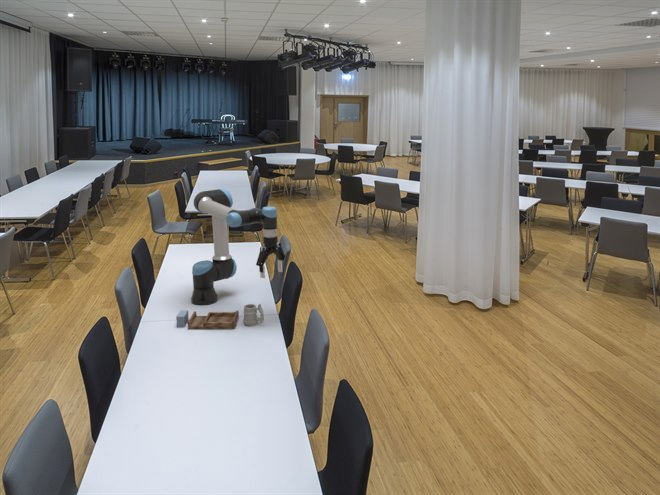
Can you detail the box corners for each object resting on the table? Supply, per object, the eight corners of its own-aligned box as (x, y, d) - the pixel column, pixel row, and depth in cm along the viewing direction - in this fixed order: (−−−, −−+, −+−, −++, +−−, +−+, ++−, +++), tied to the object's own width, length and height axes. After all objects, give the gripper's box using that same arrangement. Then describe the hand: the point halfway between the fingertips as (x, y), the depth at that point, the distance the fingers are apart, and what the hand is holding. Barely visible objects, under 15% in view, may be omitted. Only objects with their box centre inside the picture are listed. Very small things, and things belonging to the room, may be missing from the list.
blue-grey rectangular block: (184, 327, 287) (183, 316, 285) (177, 327, 286) (176, 316, 285) (188, 320, 295) (188, 310, 294) (181, 320, 295) (180, 310, 294)
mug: (247, 320, 296) (246, 299, 293) (267, 323, 292) (266, 301, 289) (240, 325, 289) (239, 303, 286) (260, 328, 285) (260, 306, 282)
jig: (188, 329, 284) (187, 321, 282) (194, 318, 298) (194, 310, 297) (234, 329, 284) (234, 321, 283) (238, 318, 298) (238, 310, 297)
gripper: (258, 241, 277) (260, 281, 282) (291, 232, 296) (292, 270, 302) (248, 239, 282) (249, 279, 287) (281, 231, 301) (282, 268, 306)
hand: (271, 274), depth 294 cm, fingers open, 13 cm apart
